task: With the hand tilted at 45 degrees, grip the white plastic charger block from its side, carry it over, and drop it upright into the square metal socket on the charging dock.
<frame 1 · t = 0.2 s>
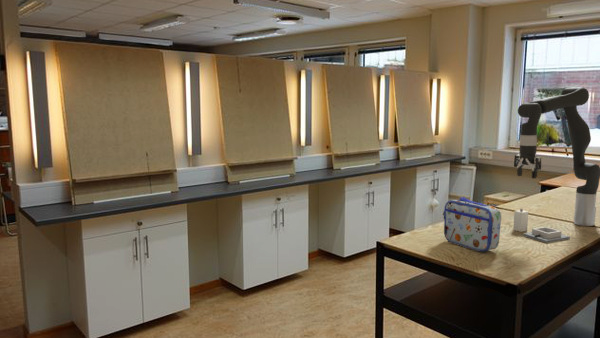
hand: (526, 177, 226), 29 cm above the table, tool pointing down, fingers open, 8 cm apart
charger block: (520, 230, 238), on the table
magazine: (470, 229, 240), on the table
lunch box: (468, 246, 213), on the table
charging dock: (546, 237, 225), on the table
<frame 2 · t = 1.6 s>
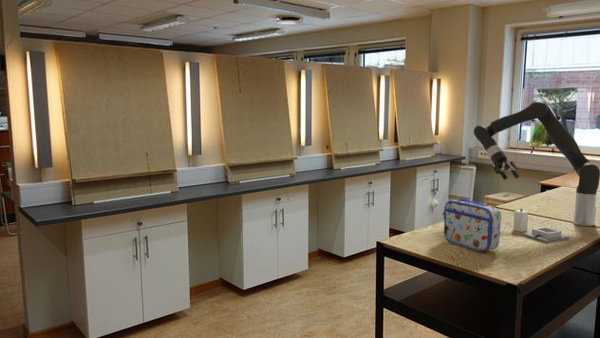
hand: (512, 178, 247), 25 cm above the table, tool tilted 45°, fingers open, 8 cm apart
nothing on the table moved.
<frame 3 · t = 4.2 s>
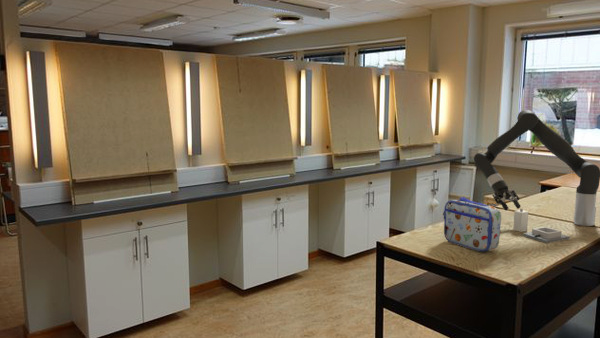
hand: (513, 208, 241), 10 cm above the table, tool tilted 45°, fingers open, 8 cm apart
nothing on the table moved.
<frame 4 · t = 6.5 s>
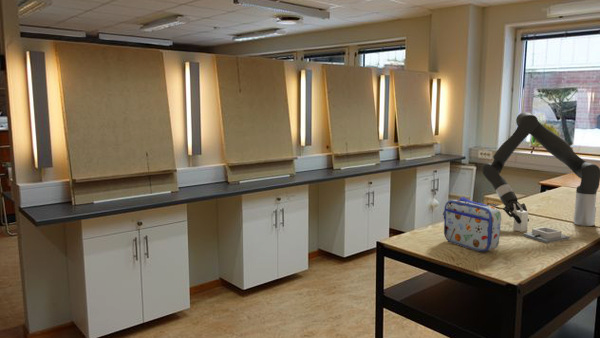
hand: (523, 222, 235), 5 cm above the table, tool tilted 45°, fingers closed on charger block, 4 cm apart
charger block: (520, 230, 238), on the table, touching gripper
everything else where it was.
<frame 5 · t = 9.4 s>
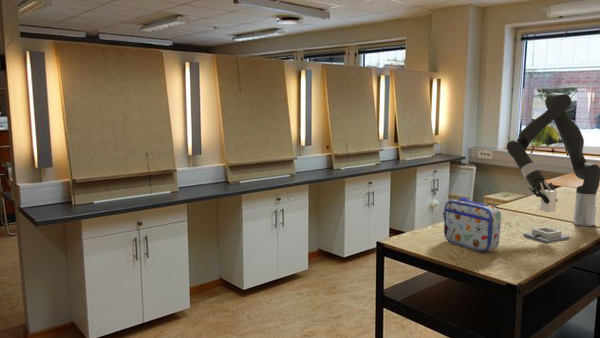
hand: (551, 202, 221), 18 cm above the table, tool tilted 45°, fingers closed on charger block, 4 cm apart
charger block: (547, 210, 223), point 13 cm above the table, touching gripper
everything else where it was.
when the fingers open (7 cm above the table, at t = 12.5 s): charger block drops 1 cm, resting on charging dock.
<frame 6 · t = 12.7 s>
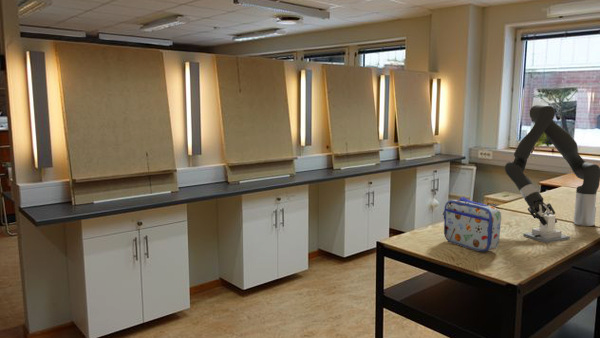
hand: (550, 223, 222), 7 cm above the table, tool tilted 45°, fingers open, 6 cm apart
charger block: (546, 234, 225), point 1 cm above the table, touching charging dock
everything else where it was.
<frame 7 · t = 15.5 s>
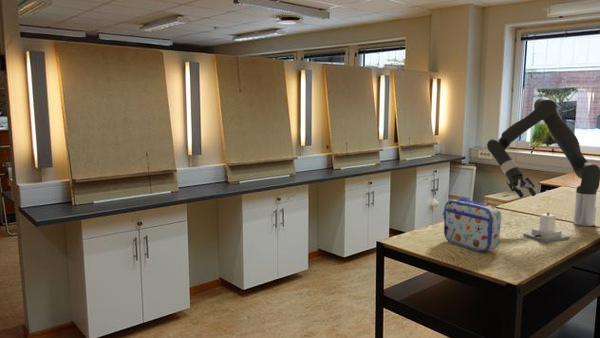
hand: (528, 196, 233), 18 cm above the table, tool tilted 45°, fingers open, 8 cm apart
nothing on the table moved.
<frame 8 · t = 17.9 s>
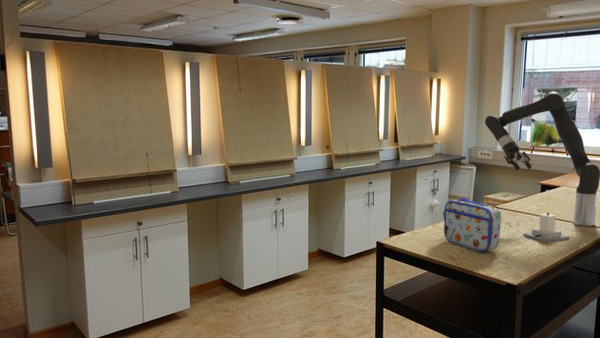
hand: (524, 168, 242), 31 cm above the table, tool tilted 45°, fingers open, 8 cm apart
nothing on the table moved.
at the end: charger block 0.1 cm off-centre on the charging dock, point 1.2 cm above the charging dock's base; charger block tilted 0°; the gripper is holding nothing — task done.
